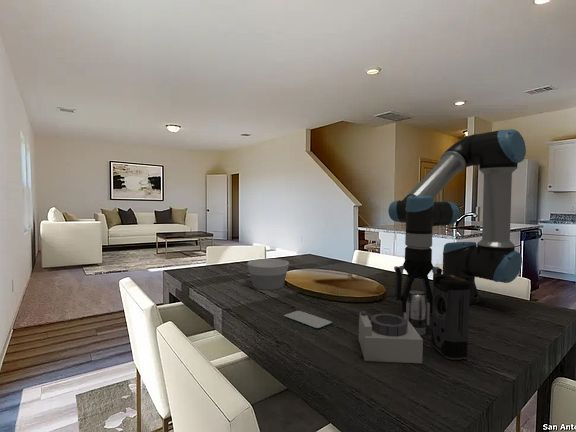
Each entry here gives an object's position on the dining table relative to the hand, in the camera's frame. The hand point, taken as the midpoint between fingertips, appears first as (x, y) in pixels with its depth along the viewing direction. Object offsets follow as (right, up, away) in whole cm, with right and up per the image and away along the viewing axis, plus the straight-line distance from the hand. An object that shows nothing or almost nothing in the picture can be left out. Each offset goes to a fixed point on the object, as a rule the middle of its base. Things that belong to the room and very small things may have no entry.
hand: (416, 322), depth 101 cm
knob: (0, -3, 0) cm, 3 cm away
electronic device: (+4, -4, -12) cm, 13 cm away
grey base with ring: (-12, -4, -12) cm, 17 cm away
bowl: (-48, 0, +52) cm, 71 cm away
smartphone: (-33, -3, +10) cm, 34 cm away
